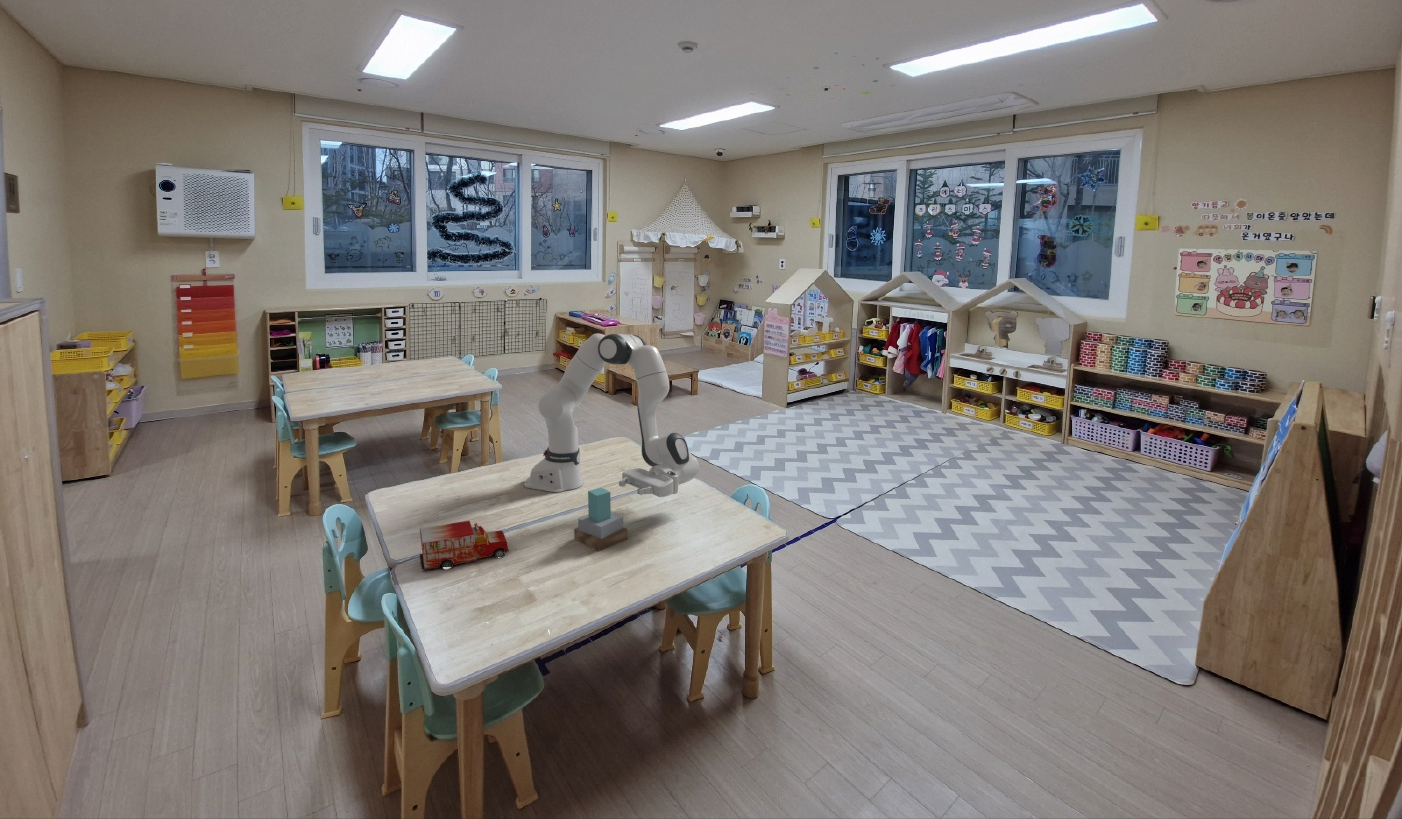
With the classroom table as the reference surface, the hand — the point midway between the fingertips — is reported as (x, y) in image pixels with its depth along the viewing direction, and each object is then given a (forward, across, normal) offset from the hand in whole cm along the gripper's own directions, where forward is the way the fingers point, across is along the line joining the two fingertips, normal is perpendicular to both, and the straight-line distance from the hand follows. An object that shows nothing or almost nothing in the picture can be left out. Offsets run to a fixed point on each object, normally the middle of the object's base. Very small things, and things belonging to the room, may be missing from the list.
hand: (629, 488), depth 217 cm
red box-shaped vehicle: (+48, -19, +15) cm, 54 cm away
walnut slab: (+11, -1, +15) cm, 19 cm away
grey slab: (+11, 0, +11) cm, 16 cm away
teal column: (+12, -1, +7) cm, 14 cm away
